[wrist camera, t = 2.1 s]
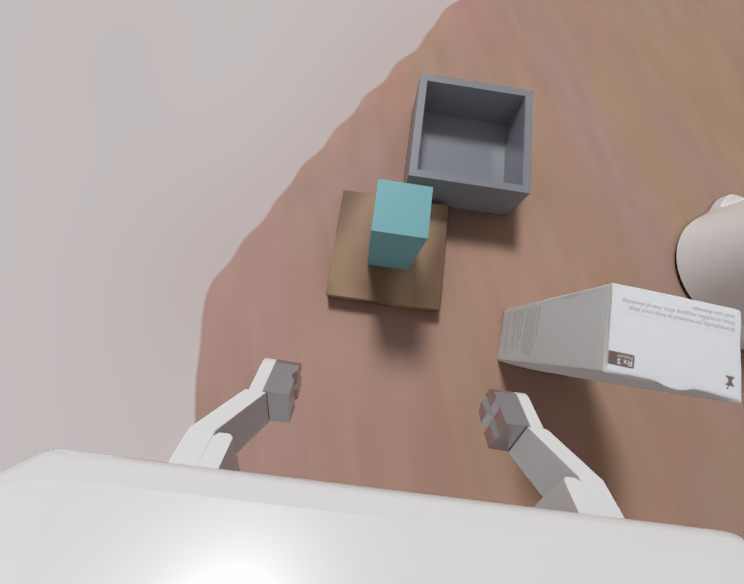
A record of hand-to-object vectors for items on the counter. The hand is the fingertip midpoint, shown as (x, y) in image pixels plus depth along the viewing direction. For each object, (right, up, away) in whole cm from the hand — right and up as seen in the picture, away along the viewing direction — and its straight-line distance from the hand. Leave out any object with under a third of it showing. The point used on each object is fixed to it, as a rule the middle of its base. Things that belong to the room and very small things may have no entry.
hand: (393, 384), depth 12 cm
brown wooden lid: (+1, +9, +20) cm, 22 cm away
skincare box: (+17, -2, +19) cm, 26 cm away
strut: (+1, +9, +19) cm, 21 cm away
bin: (+10, +20, +23) cm, 32 cm away
